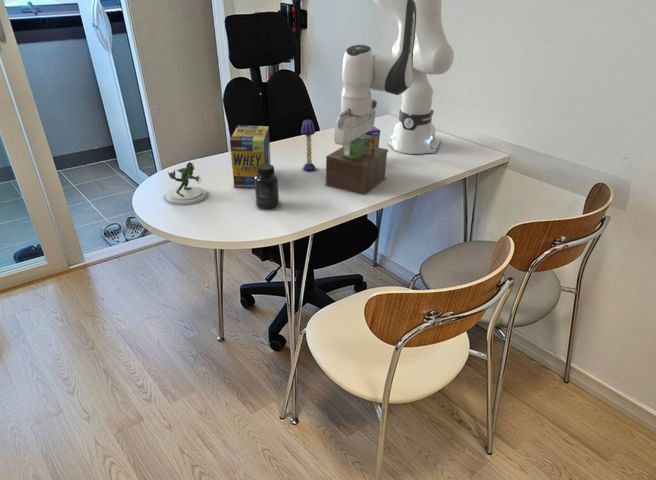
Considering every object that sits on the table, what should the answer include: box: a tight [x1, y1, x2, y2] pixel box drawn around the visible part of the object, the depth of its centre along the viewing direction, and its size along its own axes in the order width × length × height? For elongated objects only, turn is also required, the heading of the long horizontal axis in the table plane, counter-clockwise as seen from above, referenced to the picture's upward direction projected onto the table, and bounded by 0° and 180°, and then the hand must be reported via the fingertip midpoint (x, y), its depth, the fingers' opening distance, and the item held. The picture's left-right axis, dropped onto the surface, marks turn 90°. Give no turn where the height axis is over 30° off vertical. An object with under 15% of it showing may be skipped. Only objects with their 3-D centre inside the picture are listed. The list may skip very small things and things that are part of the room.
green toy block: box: [342, 138, 365, 159], centre depth 154 cm, size 5×5×5 cm
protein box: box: [229, 124, 271, 189], centre depth 159 cm, size 10×15×16 cm
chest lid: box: [325, 135, 389, 167], centre depth 157 cm, size 17×14×5 cm
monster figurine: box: [165, 161, 207, 206], centre depth 149 cm, size 12×12×10 cm
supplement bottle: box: [254, 163, 280, 211], centre depth 144 cm, size 7×7×12 cm
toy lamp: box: [300, 119, 316, 172], centre depth 167 cm, size 5×5×17 cm
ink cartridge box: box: [365, 125, 381, 148], centre depth 174 cm, size 10×6×14 cm, turn 117°
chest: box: [325, 152, 388, 196], centre depth 160 cm, size 16×14×9 cm
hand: (353, 151), depth 155 cm, fingers open, 6 cm apart
